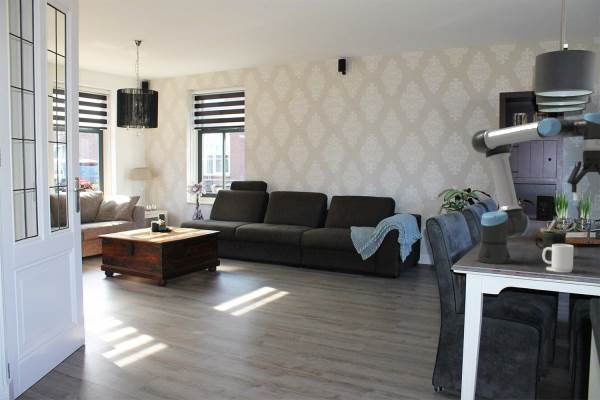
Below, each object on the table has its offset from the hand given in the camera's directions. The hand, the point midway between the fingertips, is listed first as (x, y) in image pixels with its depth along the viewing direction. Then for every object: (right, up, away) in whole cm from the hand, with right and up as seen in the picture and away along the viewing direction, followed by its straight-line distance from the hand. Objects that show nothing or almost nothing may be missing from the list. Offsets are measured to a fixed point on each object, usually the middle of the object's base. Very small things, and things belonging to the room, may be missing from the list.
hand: (591, 200), depth 216 cm
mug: (+3, -28, +42) cm, 51 cm away
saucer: (-11, -30, +5) cm, 33 cm away
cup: (-12, -30, +6) cm, 32 cm away
